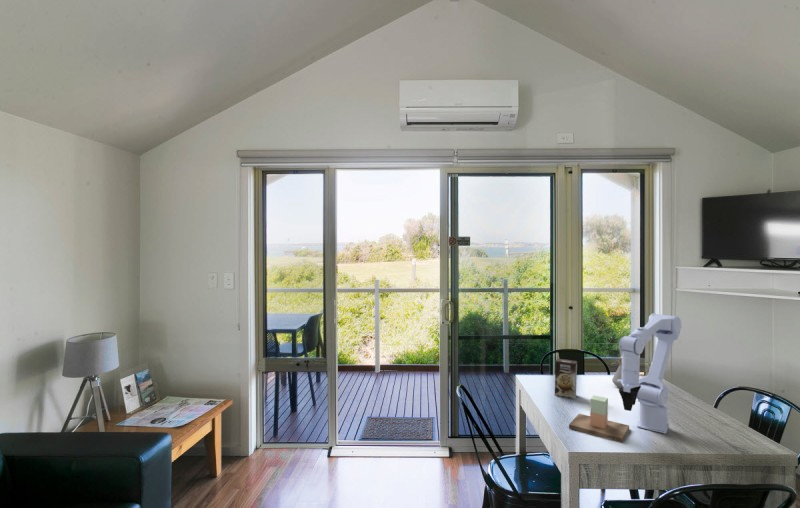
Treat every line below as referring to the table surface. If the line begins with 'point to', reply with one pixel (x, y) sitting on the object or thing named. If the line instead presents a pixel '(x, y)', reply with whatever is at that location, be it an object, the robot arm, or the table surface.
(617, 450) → the table surface
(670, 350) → the robot arm
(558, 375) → the coffee box
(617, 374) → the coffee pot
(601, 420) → the terracotta block
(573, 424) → the walnut base
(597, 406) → the sage block
